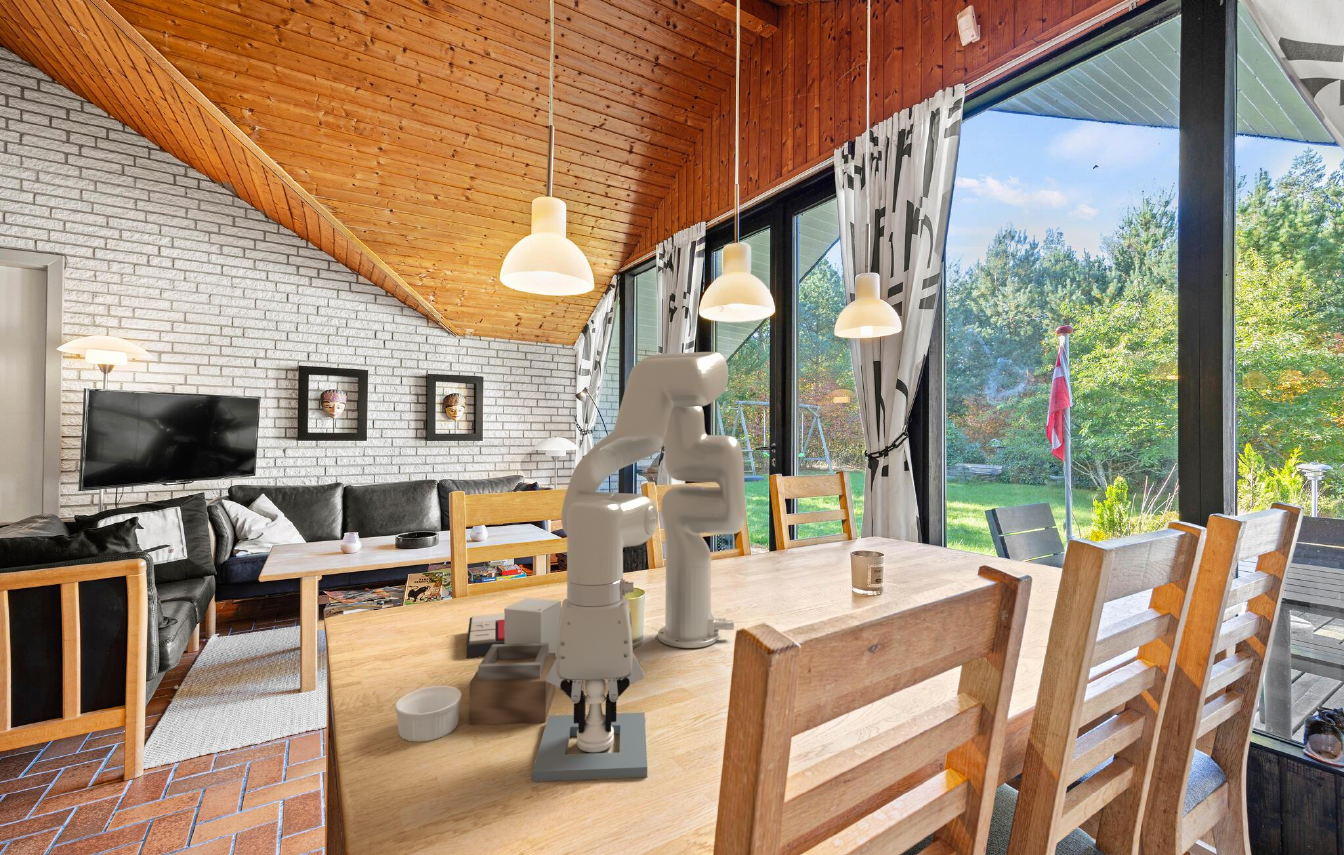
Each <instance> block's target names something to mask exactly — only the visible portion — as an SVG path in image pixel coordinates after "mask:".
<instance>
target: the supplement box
mask: <svg viewBox="0 0 1344 855" xmlns="http://www.w3.org/2000/svg"><path fill="white" fill-rule="evenodd" d="M561 607H562V601H561V600H555V599H554V600H553V599H545V598H535V597H525V598H524V599H521V600H520V601H517V602H515V603H514V604H513V603H512V605H509V606H507V607H505V608H504V609H503V610H504V613H503V614H505V644H529V643H549V653H556V657H557V642H558V629H559V620H560V613H561ZM555 659H556V658H555Z"/></svg>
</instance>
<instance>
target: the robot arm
mask: <svg viewBox="0 0 1344 855" xmlns="http://www.w3.org/2000/svg"><path fill="white" fill-rule="evenodd" d="M728 382H729V366H728V364H727V361H726V358H725V357H724V356H723V355H722V354H721V353H719V352H717V351H700V352H699V351H696V352H695V351H694V352H674V353H672V352H671V353H670V352H669V353H659V354H651V355H649V356H646V357H644V358H643V359H641V361H639V362H638V363H636V364H635V365H634V366H633V367H632V369H631V371H630V373H629V375H628V378H627V382H626V386H625V389H624V393H623V396H622V400H621V402H620V403H621V404H620V406H619V410H618V414H617V418H616V421H615V425H614V428H613V429H612V431H611V432H610V433H608V434H607V435H606V436H604V437H603V438H602V439H601V440H600V441H598V442H597V443H596V444H595V445H594V446H593V447H592V448H590V450H589V451H588V452H587V453H586V454H585V455H584V456H583V457H581V459H580V460H579V462H578V463H577V464H576V466H575V468H574V469H573V472H572V474H571V477H570V481H569V483H568V486H567V489H566V492H565V496H564V499H563V502H562V503H563V504H562V508H561V518H560V519H561V521H560V522H561V527H562V529H563V531H564V533H565V535H566V536H567V537H566V538H567V539H566V543H567V544H566V546H567V547H566V550H567V551H566V553H567V555H566V562H567V563H566V564H567V567H566V568H567V569H566V570H567V571H566V575H567V576H566V578H567V579H566V587H567V588H566V592H567V593H566V598H565V599H563V601H561V613H560V620H559V629H558V642H557V657H556V659H555V660H554V662H553V664H552V666H551V668H550V670H549V672H548V674H547V677H546V681H547V682H549V683H551V684H553V685H555V687H557V688H558V687H559V688H560V690H561V691H562V692H563V693H565V695H567V696H568V697H569V698H570V701H571V703H572V704H573V715H574V724H576V723H578V733H583V732H584V725H585V717H586V714H587V713H586V710H587V709H586V705H587V704H586V703H587V702H586V701H585V697H586V696H587V695H586V694H585V690H583V681H585V680H586V681H587V680H593V679H604V680H607V688H608V690H607V694H606V695H605V696H606V700H605V714H606V731H607V732H611V723H612V722H616V717H617V713H618V712H617V711H618V710H617V706H618V705H617V701H618V700H619V698H620V696H621V695H622V694H623V693H624V692H625V691H626V690H627V689H628V688H629V687H630V686H632V685H634V684H636V683H637V682H639V681H641V680H642V679H643V678H644V675H645V674H644V669H643V668H642V666H641V664H640V662H639V660H638V659H637V657H636V655H635V654H634V642H633V639H634V638H633V624H632V623H633V622H632V613H631V606H630V602H629V599H628V598H627V597H626V594H629V593H634V582H629V581H626V579H624V552H623V550H624V548H627V547H635V546H636V547H637V546H639V545H643V544H645V543H646V542H648V541H649V540H650V539H651V538H652V537H653V535H654V534H655V532H656V530H657V527H658V522H659V514H658V509H657V506H656V505H655V504H656V503H654V502H653V500H651V499H650V498H649V497H647V496H646V495H643V494H638V493H623V492H620V493H619V492H610V491H609V492H608V491H607V492H605V491H598V490H599V488H600V486H601V485H602V484H603V483H604V481H605V480H606V479H607V478H608V477H610V476H611V475H612V474H614V473H616V472H617V471H619V470H621V469H623V468H625V467H628V466H630V465H632V464H635V463H638V462H640V461H642V460H645V459H646V458H649V457H652V456H654V455H656V454H657V453H658V452H660V450H661V449H662V448H663V447H664V459H665V468H666V472H667V474H668V476H669V477H670V478H671V479H673V480H676V481H681V482H695V483H696V482H698V483H699V482H700V483H704V482H705V483H716V484H717V485H718V486H705V485H702V486H701V485H680V486H679V485H678V486H674V487H671V488H670V489H668V490H667V491H665V492H664V494H663V496H662V499H661V503H660V504H661V505H660V507H661V508H660V511H661V517H662V523H663V529H664V539H665V613H664V614H665V625H664V626H662V627H661V628H660V629H659V630H658V631H657V637H658V640H659V641H660V642H661V643H662V644H664V645H667V646H671V647H674V648H682V649H695V648H696V649H699V648H704V647H708V646H711V645H713V644H715V643H717V641H718V640H719V631H720V630H724V631H734V630H735V624H734V620H733V619H731V620H729V619H727V620H726V617H719V618H715V617H714V616H713V614H712V554H711V550H710V547H709V545H708V543H707V541H705V539H704V537H703V536H702V535H701V534H704V533H705V534H717V535H718V534H719V535H720V534H721V535H733V534H738V533H739V532H741V530H743V528H744V525H745V523H746V511H747V510H746V490H745V488H746V486H745V485H746V484H745V466H744V456H743V455H744V454H743V450H742V446H741V444H740V442H739V441H738V439H737V438H735V437H734V436H732V435H723V434H722V435H719V434H718V435H715V434H714V435H711V434H707V432H706V428H705V414H704V409H703V407H705V406H708V405H710V404H711V403H713V402H714V401H715V400H717V399H718V398H720V397H721V396H722V395H723V393H725V392H726V388H727V385H728Z"/></svg>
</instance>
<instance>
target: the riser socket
mask: <svg viewBox="0 0 1344 855" xmlns="http://www.w3.org/2000/svg"><path fill="white" fill-rule="evenodd" d="M555 658H556V653H549V643H529V644H493V645H492V646H491V648H490V649H489V651H488V653H487V654H486V656H485V657H483V658H482V660H481V662H480V664H478V668H477V671H476V672H475V674H474V676H473V677H472V679H471V680H470V682H469V685H468V688H469V690H468V691H469V692H468V693H469V694H468V695H469V696H468V704H469V705H468V725H469V726H471V725H472V726H474V725H476V726H477V725H499V724H500V725H501V724H503V725H505V724H528V723H529V724H531V723H533V724H534V723H547V719H548V716H549V712H550V708H551V706H552V702H553V698H554V694H555V691H556V686H555V685H553V684H551V683H549V682H547V681H546V677H547V674H548V672H549V670H550V668H551V666H552V664H553V662H554V660H555Z"/></svg>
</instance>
